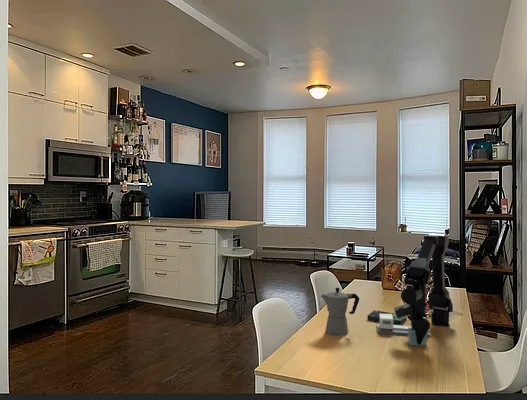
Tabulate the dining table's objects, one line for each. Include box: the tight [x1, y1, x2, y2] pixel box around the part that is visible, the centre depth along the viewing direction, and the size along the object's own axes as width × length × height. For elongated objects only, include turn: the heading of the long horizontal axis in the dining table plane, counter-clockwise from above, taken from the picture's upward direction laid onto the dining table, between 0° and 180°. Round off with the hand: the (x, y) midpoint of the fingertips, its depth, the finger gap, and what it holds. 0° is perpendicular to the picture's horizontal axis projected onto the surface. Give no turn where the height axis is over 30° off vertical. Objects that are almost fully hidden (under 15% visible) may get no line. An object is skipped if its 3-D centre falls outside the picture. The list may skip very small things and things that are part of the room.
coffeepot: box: [320, 287, 360, 336], centre depth 177 cm, size 15×9×18 cm, turn 90°
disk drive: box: [366, 310, 408, 325], centre depth 194 cm, size 10×3×15 cm
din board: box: [376, 314, 432, 338], centre depth 179 cm, size 20×10×6 cm, turn 78°
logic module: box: [407, 328, 428, 347], centre depth 165 cm, size 6×5×5 cm
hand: (417, 340), depth 165 cm, fingers open, 9 cm apart
